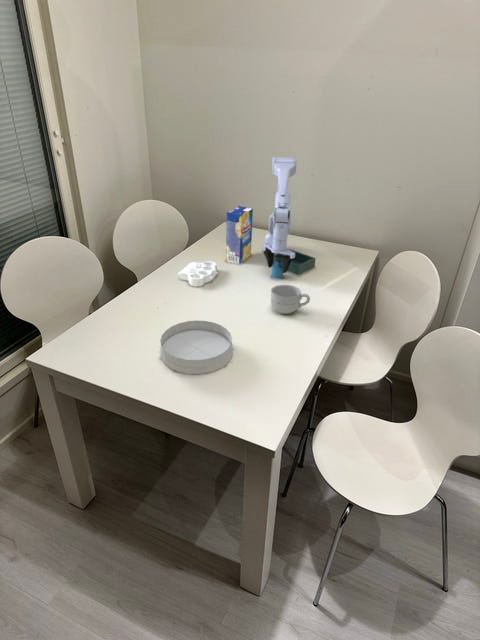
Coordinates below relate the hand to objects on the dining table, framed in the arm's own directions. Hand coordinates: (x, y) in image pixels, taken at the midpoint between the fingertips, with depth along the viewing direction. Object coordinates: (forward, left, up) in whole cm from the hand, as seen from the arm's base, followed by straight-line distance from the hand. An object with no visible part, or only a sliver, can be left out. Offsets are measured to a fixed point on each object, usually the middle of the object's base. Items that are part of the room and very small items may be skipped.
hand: (277, 269), depth 187 cm
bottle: (0, 0, -4) cm, 4 cm away
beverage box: (-24, +3, -4) cm, 24 cm away
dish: (+15, -60, -4) cm, 62 cm away
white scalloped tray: (-23, -22, -4) cm, 32 cm away
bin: (-1, +13, -4) cm, 14 cm away
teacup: (+20, -19, -4) cm, 28 cm away
